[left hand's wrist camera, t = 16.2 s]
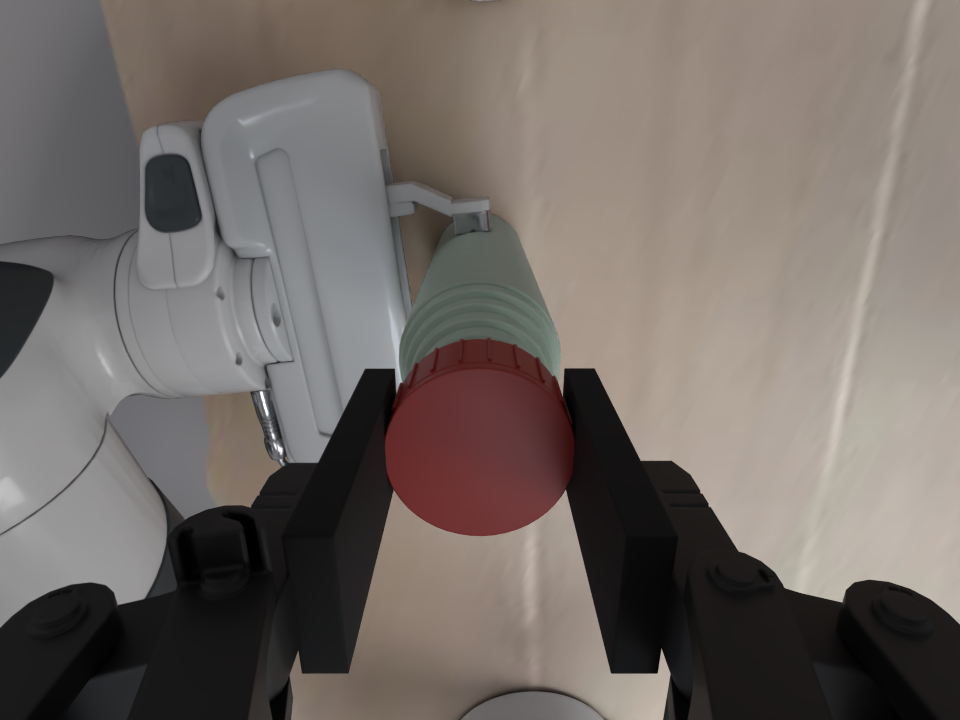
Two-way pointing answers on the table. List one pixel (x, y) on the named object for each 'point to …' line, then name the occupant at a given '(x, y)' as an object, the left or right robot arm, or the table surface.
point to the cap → (479, 438)
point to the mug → (484, 0)
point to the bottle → (479, 299)
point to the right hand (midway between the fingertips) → (497, 279)
